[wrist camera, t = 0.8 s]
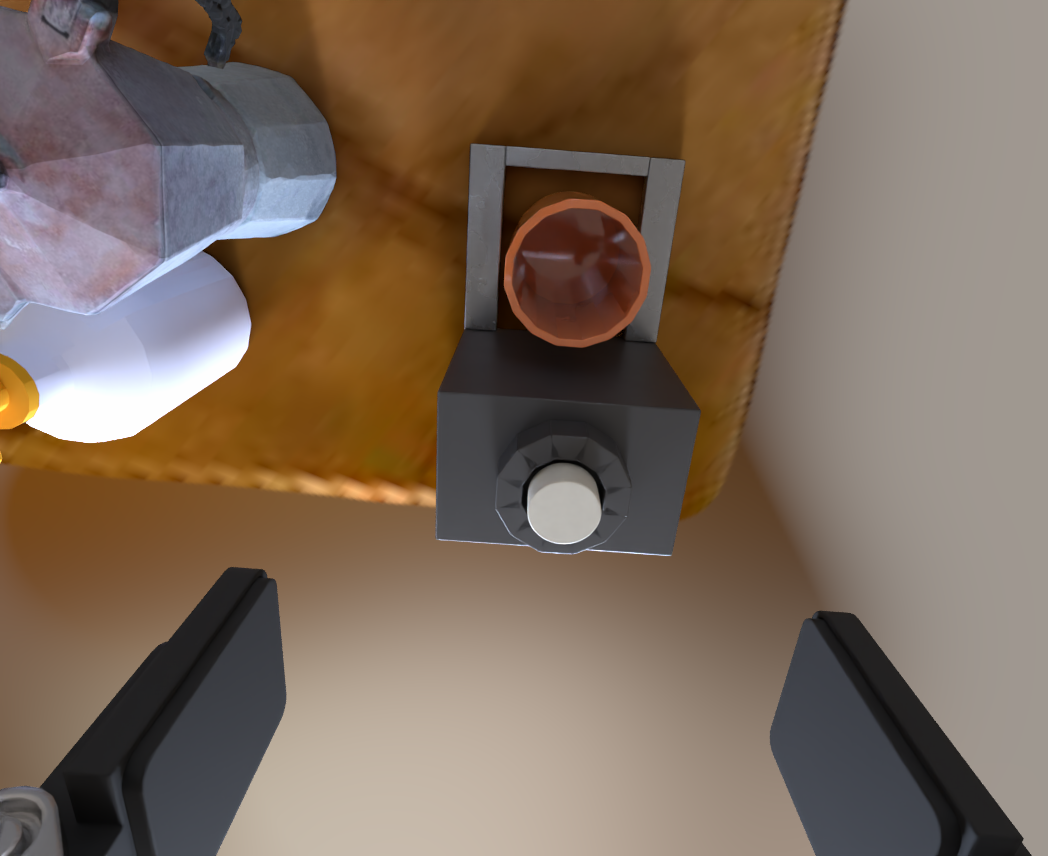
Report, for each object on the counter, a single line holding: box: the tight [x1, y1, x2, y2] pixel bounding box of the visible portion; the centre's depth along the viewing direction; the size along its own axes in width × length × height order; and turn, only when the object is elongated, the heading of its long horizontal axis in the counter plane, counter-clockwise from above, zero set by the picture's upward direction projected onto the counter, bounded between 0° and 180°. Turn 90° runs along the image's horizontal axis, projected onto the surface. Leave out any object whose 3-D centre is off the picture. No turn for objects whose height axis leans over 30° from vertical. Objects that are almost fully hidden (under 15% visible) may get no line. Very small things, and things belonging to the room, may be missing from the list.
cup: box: [504, 191, 651, 348], centre depth 33 cm, size 7×7×9 cm
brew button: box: [527, 463, 601, 544], centre depth 27 cm, size 3×3×2 cm
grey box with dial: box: [436, 328, 701, 556], centre depth 34 cm, size 8×12×14 cm, turn 86°
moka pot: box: [0, 0, 336, 330], centre depth 25 cm, size 10×15×20 cm, turn 149°
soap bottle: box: [0, 251, 251, 462], centre depth 27 cm, size 9×9×25 cm
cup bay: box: [464, 143, 685, 343], centre depth 36 cm, size 10×12×1 cm
